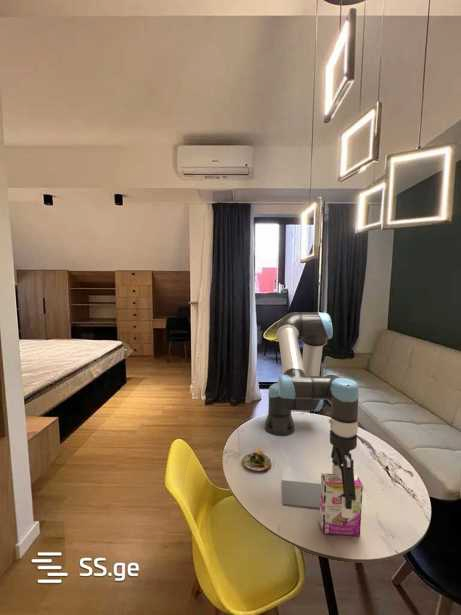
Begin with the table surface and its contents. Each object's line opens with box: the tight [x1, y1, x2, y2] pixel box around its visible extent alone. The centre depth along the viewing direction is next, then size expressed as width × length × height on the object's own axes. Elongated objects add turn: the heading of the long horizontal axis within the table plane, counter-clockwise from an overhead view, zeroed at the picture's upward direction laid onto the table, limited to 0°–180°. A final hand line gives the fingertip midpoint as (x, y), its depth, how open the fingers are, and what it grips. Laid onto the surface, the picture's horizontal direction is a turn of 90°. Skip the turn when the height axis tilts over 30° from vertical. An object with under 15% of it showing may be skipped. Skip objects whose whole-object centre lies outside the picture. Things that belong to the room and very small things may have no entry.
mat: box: [281, 479, 321, 510], centre depth 103 cm, size 12×22×1 cm, turn 82°
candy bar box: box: [318, 472, 364, 537], centre depth 88 cm, size 11×5×16 cm, turn 86°
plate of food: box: [241, 448, 272, 472], centre depth 121 cm, size 12×12×8 cm
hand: (341, 499), depth 88 cm, fingers open, 13 cm apart
